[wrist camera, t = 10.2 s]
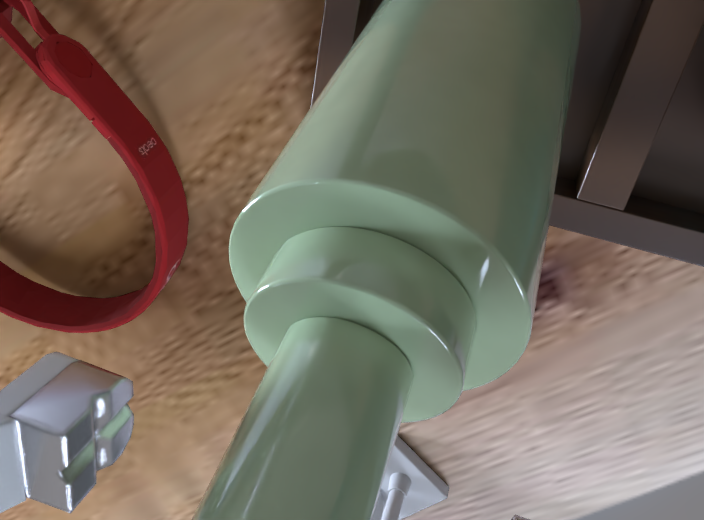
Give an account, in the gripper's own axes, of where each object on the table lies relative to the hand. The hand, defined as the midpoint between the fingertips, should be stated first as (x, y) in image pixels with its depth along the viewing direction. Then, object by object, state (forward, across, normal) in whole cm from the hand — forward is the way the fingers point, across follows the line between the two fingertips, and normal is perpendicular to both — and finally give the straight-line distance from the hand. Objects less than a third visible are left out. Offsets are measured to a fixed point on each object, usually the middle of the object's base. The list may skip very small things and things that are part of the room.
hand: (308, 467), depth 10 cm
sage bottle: (+15, 0, -6) cm, 16 cm away
